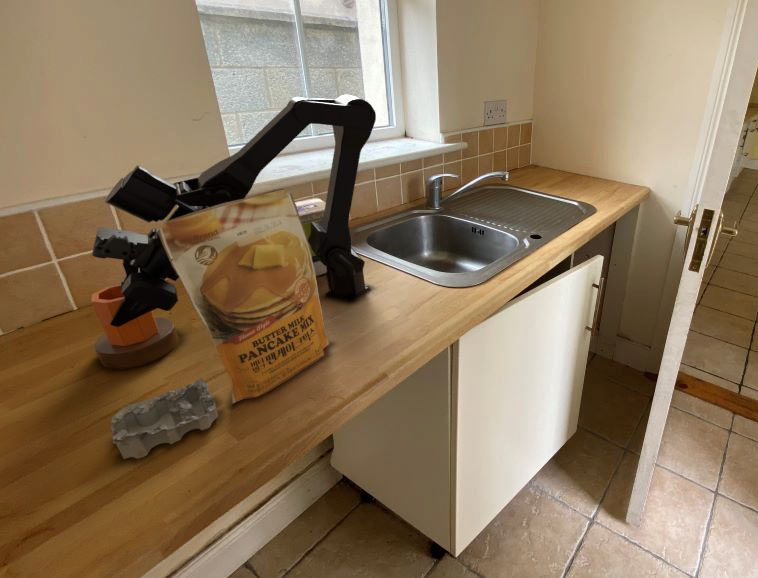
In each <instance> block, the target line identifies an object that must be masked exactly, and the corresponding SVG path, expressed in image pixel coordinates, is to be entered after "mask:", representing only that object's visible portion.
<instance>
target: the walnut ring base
mask: <svg viewBox="0 0 758 578" xmlns="http://www.w3.org/2000/svg"><path fill="white" fill-rule="evenodd" d="M155 318H156V321H157V323H158V329H159V331H158V332H157V333H156V334H154V335H153V336H152V337H150V338H149V339H147V340H145V341H142V342H138V343H135V344H131V345H127V346H119V345H111V344H110V342H109V339H108V337H107V335H106V333H105V332H104V333H103V334H101V335H100V336H99V337H98V338H97V339H96V340H95V342H94V345H93V348H94V351H95V352H96V355H97V357H98V359H99V361H100V363H101V364H102V366H103V367H105V368H107V369H112V370H125V369H132V368H136V367H140V366H144V365H147V364H150V363H152V362H154V361H156V360H157V361H158V360H159V359H161V358H163V357H165V356H166V355H168V354H169V353H170V352H172V351H173V350H174V349H175V348H176V347H177V345H178V343H179V340H180V339H179V335H178V333H177V330H176V327H175V325H174V322H173V321H172V320H171V319H170V318H166V317H158V316H155Z"/></svg>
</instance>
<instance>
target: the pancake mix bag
mask: <svg viewBox="0 0 758 578" xmlns="http://www.w3.org/2000/svg"><path fill="white" fill-rule="evenodd" d="M295 202H296V201H295V198H294V197H293V194H292V191H287V192H285V188H284V187H283V188H277V189H276V188H275V189H272V190H269V191H266V192H261V193H258V194H255V195H251V196H248V197H245V198H244V199H240V200H235V201H231V202H226V203H223V204H219V205H216V206H213V207H209V208H206V209H203V210H199V211H196V212H193V213H189V214H186V215H183V216H180V217H177V218H175V219H172V220H169V221H167V220H165V222H166V223H165V222H164V223H165V224H164V223H163V224H164V225H163V224H162V225H163V226H162V225H161V226H160V228H158V229H159V230H158V231H157V232H158V234H159V237H160V239H161V242H162V244H163V247H164V249H165V251H166V253H167V256H168V258H169V260H170V262H171V265H172V267H173V268H174V270H175V271H176V272H177V274H178V275H179V279H180V281H181V283H182V286H183V288H184V290H185V292H186V294H187V296H188V297H187V298H188V299H189V301H190V303H191V305H192V307H193V308H194V310H195V312H196V313H197V315H198V317H199V319H200V320H201V321H202V323H203V324H204V326H205V328H206V329H207V330H208V332H209V335H210V337H211V340H212V343H213V346H214V349H215V351H216V354H217V357H218V358H219V360H220V361H221V363H222V364H223V366H224V368H225V370H226V372H227V375H228V377H229V380H230V385H231V404H236V403H237V402H239V401H242V400H244V399H257V398H259V397H260V396H263V395H265V394H267V393H269V392H270V391H272V390H273V389H275V388H276V387H279V386H280V385H281V384H283V383H285V382H286V381H288V380H289V379H291V378H293V377H294V376H296V375H297V374H298V373H300V372H301V371H303V370H305V369H306V368H308V367H309V366H311V365H313V364H315V363H316V362H317V361H319V360H320V359H321V358H323V357H325V353H324V350H325V349H326V348H327V347H328V346H329V345H330V342H329V340H328V338H327V336H326V333H325V323H324V317H323V308H322V306H321V301H320V295H319V288H318V287H319V286H318V282H317V276H316V275H315V268H314V265H313V262H312V256H311V250H310V247H309V243H308V240H307V237H306V234H305V231H304V228H303V225H302V222H301V220H300V217H299V212H298V209H297V206H296V204H295Z"/></svg>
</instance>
